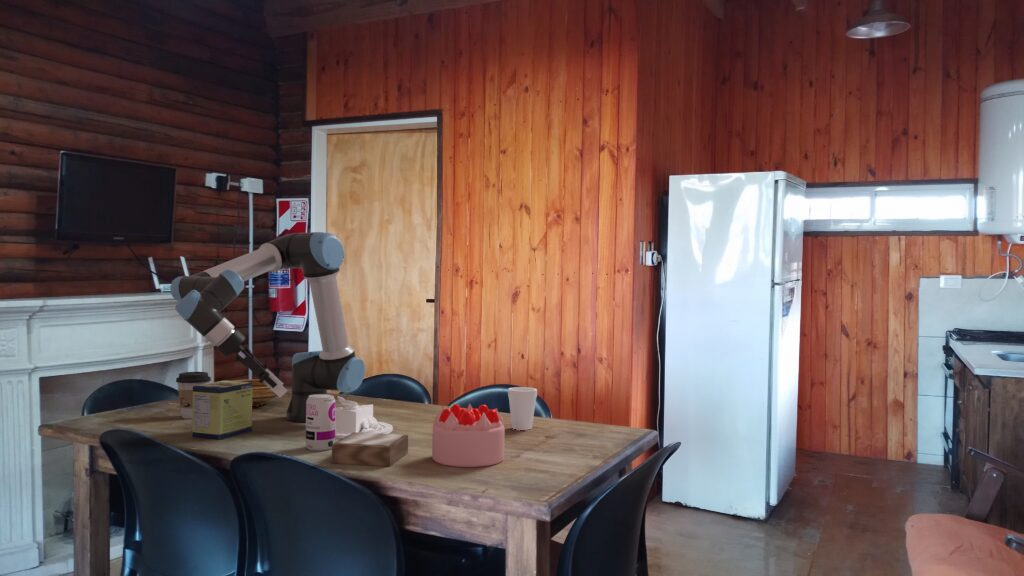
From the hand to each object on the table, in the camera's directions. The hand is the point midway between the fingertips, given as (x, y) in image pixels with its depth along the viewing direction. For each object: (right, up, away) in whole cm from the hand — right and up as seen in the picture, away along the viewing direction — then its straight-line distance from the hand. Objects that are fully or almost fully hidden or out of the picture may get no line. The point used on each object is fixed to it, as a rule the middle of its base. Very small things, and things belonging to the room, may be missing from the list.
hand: (281, 390), depth 221 cm
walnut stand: (+26, -17, -7) cm, 32 cm away
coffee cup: (-45, -16, +49) cm, 68 cm away
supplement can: (+10, -17, +4) cm, 20 cm away
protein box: (-25, -16, +22) cm, 37 cm away
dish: (+14, -17, +30) cm, 37 cm away
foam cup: (+68, -18, +37) cm, 79 cm away
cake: (+53, -18, -6) cm, 56 cm away
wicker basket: (-34, -15, +75) cm, 84 cm away
